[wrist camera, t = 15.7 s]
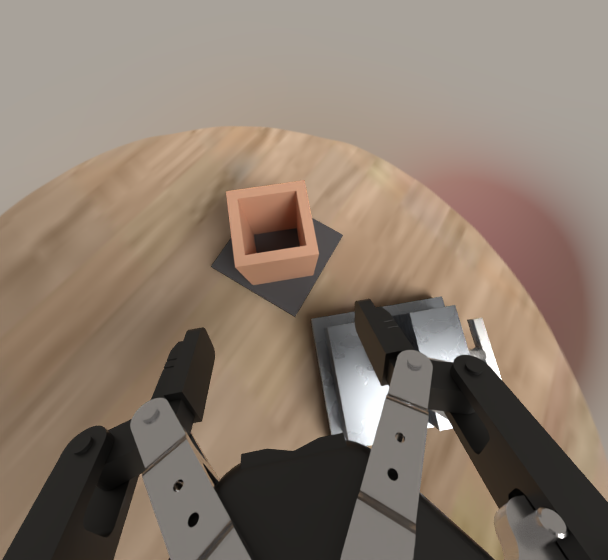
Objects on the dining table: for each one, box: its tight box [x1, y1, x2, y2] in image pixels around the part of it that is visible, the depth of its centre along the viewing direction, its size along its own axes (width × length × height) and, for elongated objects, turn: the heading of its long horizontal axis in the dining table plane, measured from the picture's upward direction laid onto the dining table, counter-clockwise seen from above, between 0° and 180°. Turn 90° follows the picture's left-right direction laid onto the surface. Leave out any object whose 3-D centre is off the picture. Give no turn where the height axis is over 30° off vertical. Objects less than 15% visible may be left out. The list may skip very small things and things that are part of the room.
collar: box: [226, 180, 319, 285], centre depth 21 cm, size 6×6×7 cm
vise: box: [311, 297, 502, 446], centre depth 18 cm, size 15×11×10 cm
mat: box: [211, 218, 343, 316], centre depth 25 cm, size 10×10×1 cm
